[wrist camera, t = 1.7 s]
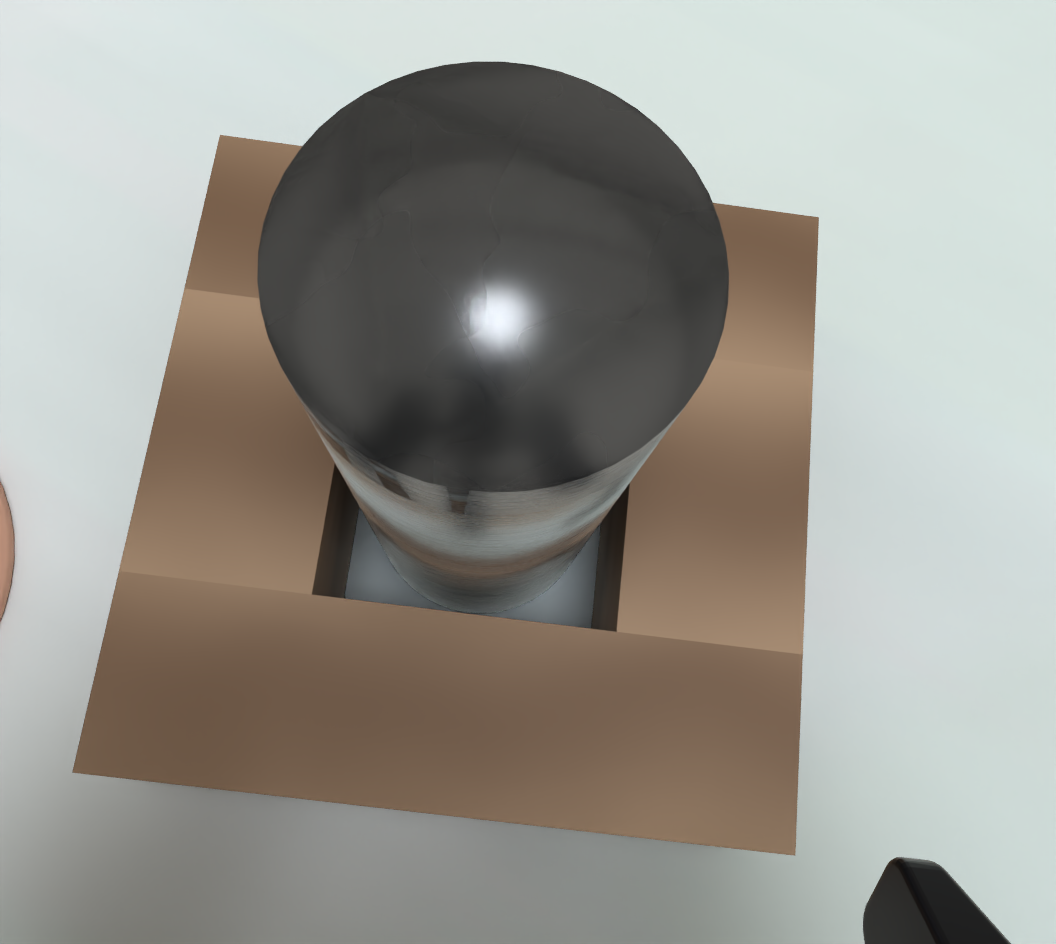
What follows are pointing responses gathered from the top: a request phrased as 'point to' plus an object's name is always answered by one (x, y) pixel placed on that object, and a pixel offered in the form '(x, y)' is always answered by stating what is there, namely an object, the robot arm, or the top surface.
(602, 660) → the housing
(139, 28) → the top surface
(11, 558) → the mat
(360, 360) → the shiny metal cylinder
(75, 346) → the top surface
